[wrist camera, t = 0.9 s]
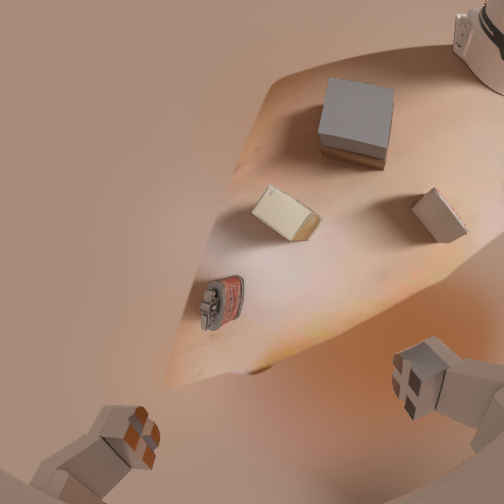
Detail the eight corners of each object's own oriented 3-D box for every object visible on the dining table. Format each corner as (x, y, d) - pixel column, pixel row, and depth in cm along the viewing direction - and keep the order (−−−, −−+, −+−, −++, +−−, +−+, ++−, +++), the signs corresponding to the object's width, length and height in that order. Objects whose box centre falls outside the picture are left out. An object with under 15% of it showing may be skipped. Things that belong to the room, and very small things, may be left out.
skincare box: (278, 219, 44) (248, 211, 33) (293, 197, 43) (267, 181, 31) (309, 242, 42) (290, 242, 31) (325, 220, 41) (312, 211, 30)
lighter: (229, 273, 48) (197, 280, 38) (247, 277, 46) (217, 286, 37) (223, 316, 48) (192, 331, 39) (240, 321, 47) (211, 338, 38)
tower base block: (334, 104, 39) (330, 89, 35) (391, 116, 36) (393, 102, 31) (323, 156, 41) (318, 146, 36) (383, 170, 37) (385, 162, 32)
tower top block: (334, 94, 34) (329, 77, 30) (391, 106, 31) (394, 89, 27) (323, 145, 36) (317, 132, 31) (384, 159, 32) (386, 148, 28)
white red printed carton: (437, 242, 34) (459, 243, 25) (410, 209, 35) (425, 199, 26) (452, 227, 33) (476, 223, 24) (425, 193, 34) (443, 180, 25)
